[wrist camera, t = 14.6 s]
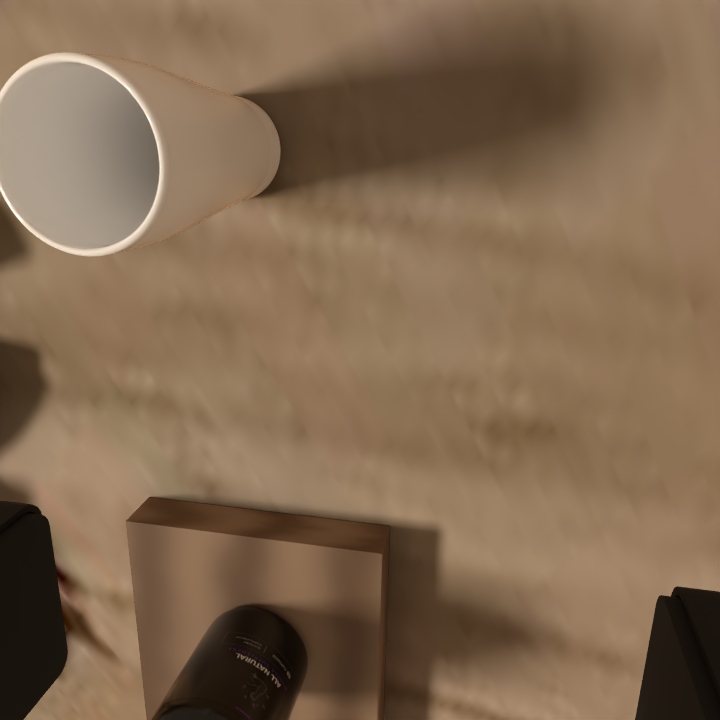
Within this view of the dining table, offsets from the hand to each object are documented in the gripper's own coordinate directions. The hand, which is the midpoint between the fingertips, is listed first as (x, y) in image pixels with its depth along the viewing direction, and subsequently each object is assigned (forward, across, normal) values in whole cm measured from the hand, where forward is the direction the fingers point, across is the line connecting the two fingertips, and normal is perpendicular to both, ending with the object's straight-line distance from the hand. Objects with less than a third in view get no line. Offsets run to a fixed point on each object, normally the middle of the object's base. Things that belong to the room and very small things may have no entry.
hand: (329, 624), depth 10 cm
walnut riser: (+28, +11, +24) cm, 39 cm away
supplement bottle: (+26, +11, +24) cm, 37 cm away
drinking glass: (+28, +12, -6) cm, 32 cm away
